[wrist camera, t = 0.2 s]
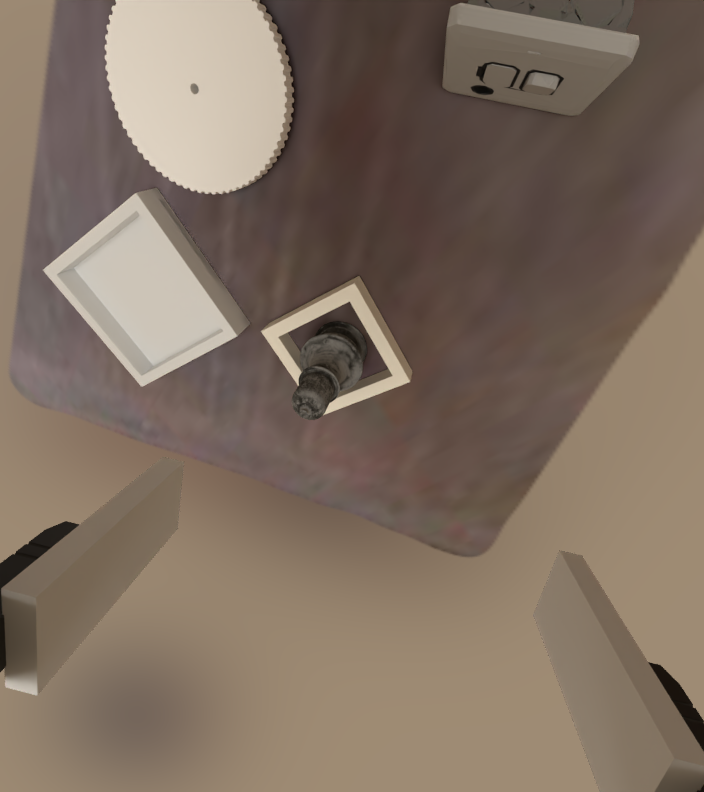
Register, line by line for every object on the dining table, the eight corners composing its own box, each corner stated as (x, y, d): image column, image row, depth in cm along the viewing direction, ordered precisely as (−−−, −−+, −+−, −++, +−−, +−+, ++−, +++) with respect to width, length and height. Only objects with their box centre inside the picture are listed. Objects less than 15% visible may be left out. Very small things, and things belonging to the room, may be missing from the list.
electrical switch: (440, 91, 31) (436, 64, 23) (463, -5, 29) (467, -73, 20) (576, 118, 30) (621, 101, 22) (612, 22, 28) (677, -38, 20)
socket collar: (359, 275, 39) (354, 283, 38) (412, 371, 43) (410, 381, 41) (269, 323, 44) (261, 331, 42) (324, 405, 48) (319, 416, 46)
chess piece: (348, 307, 41) (309, 370, 31) (381, 358, 43) (354, 432, 33) (299, 335, 44) (249, 401, 34) (333, 382, 46) (295, 457, 36)
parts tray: (157, 187, 39) (135, 192, 37) (250, 323, 44) (237, 336, 42) (66, 261, 45) (42, 270, 43) (157, 373, 50) (141, 386, 48)
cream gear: (171, -93, 29) (148, -108, 27) (335, 71, 32) (325, 69, 30) (102, 105, 37) (80, 105, 35) (240, 225, 40) (227, 231, 37)
